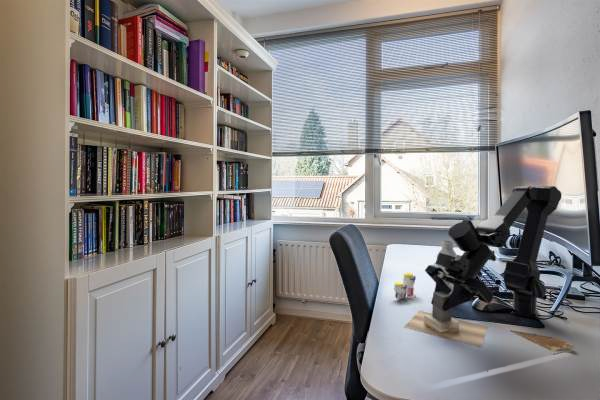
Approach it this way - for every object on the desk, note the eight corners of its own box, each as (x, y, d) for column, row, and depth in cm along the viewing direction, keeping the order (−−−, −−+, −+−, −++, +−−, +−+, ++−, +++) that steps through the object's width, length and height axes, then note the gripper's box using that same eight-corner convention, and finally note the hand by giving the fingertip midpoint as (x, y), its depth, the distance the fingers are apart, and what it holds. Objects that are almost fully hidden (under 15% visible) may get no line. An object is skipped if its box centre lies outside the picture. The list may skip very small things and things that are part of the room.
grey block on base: (442, 320, 88) (443, 289, 88) (459, 330, 83) (460, 297, 82) (424, 323, 87) (425, 291, 86) (440, 334, 81) (441, 299, 80)
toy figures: (403, 304, 103) (403, 279, 103) (391, 301, 107) (391, 276, 106) (420, 295, 112) (420, 272, 111) (408, 292, 115) (408, 270, 115)
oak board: (419, 313, 96) (419, 310, 96) (488, 328, 85) (488, 326, 85) (403, 330, 85) (403, 327, 85) (480, 350, 74) (480, 347, 74)
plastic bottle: (462, 303, 104) (463, 242, 103) (446, 306, 102) (447, 244, 101) (446, 297, 110) (447, 239, 109) (431, 299, 108) (432, 240, 107)
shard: (509, 335, 83) (510, 328, 83) (532, 332, 85) (533, 325, 85) (552, 357, 72) (552, 349, 72) (577, 352, 74) (577, 345, 74)
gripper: (430, 237, 94) (398, 277, 91) (485, 249, 76) (446, 300, 73) (451, 261, 96) (420, 302, 93) (509, 278, 78) (473, 329, 76)
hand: (437, 307), depth 84 cm, fingers closed on grey block on base, 4 cm apart
